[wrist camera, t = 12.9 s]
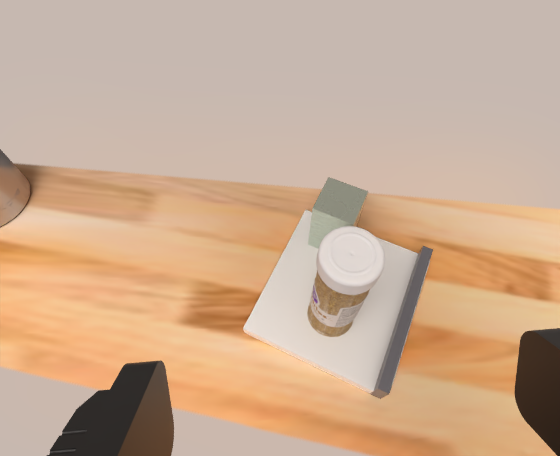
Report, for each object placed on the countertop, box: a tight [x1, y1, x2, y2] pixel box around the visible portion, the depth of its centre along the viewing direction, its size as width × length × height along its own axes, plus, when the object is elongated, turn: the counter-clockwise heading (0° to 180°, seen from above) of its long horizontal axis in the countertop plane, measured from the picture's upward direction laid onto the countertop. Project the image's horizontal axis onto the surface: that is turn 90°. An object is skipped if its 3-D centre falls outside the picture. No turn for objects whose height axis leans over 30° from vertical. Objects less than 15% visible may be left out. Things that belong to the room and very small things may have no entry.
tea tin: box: [308, 178, 368, 249], centre depth 38 cm, size 4×4×7 cm
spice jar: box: [307, 226, 385, 337], centre depth 31 cm, size 5×5×14 cm
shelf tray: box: [243, 210, 433, 399], centre depth 38 cm, size 14×15×3 cm
